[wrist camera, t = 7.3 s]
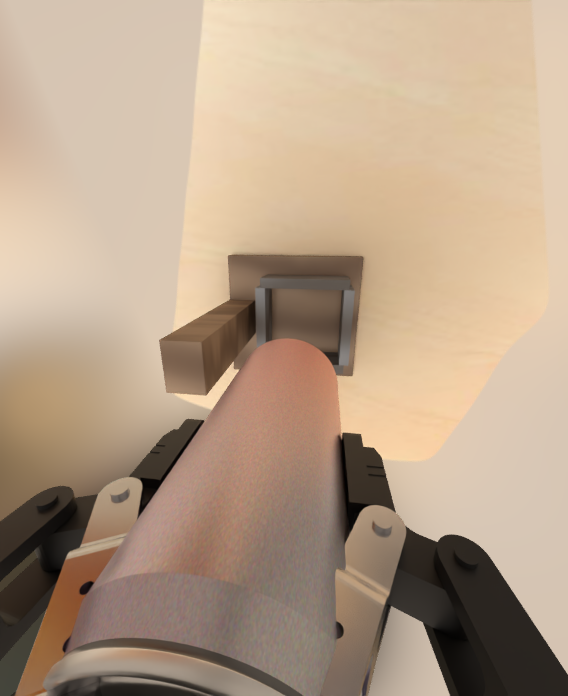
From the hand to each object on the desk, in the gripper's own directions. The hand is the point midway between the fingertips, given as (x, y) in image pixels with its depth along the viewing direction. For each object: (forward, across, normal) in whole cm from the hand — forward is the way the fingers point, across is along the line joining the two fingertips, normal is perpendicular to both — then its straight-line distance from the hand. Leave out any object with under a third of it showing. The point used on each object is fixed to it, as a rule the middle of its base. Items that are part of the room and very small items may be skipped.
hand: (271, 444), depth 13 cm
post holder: (+25, +2, 0) cm, 25 cm away
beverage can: (+7, 0, 0) cm, 7 cm away
